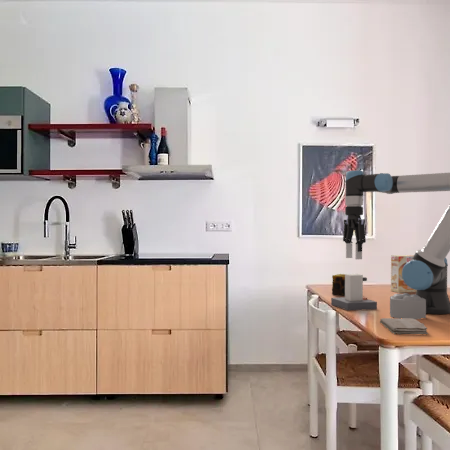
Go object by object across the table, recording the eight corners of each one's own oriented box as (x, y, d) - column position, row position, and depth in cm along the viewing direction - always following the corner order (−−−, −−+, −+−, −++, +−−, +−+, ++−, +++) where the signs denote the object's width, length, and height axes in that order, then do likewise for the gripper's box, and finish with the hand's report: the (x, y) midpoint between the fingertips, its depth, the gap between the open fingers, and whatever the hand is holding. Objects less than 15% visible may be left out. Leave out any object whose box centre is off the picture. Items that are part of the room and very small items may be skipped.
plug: (362, 304, 201) (363, 273, 201) (368, 306, 197) (368, 274, 197) (344, 305, 199) (345, 274, 199) (350, 306, 195) (350, 275, 194)
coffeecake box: (398, 292, 238) (398, 256, 238) (390, 291, 245) (390, 255, 245) (422, 291, 242) (422, 255, 242) (413, 290, 249) (413, 254, 249)
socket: (376, 308, 192) (376, 300, 192) (347, 310, 189) (347, 301, 189) (359, 303, 206) (359, 294, 206) (331, 304, 202) (331, 296, 202)
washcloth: (393, 336, 148) (393, 326, 148) (378, 324, 166) (378, 315, 166) (431, 337, 147) (431, 327, 147) (411, 324, 165) (411, 316, 165)
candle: (350, 296, 225) (350, 276, 225) (331, 294, 231) (331, 275, 231) (358, 294, 233) (358, 275, 233) (339, 292, 239) (339, 273, 239)
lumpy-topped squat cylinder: (389, 313, 184) (389, 291, 184) (424, 315, 180) (424, 293, 180) (390, 318, 174) (390, 295, 174) (427, 320, 170) (427, 297, 170)
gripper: (375, 205, 189) (374, 260, 189) (349, 207, 208) (349, 256, 208) (359, 205, 187) (358, 260, 187) (335, 206, 206) (334, 257, 206)
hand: (353, 258), depth 197 cm, fingers open, 7 cm apart
